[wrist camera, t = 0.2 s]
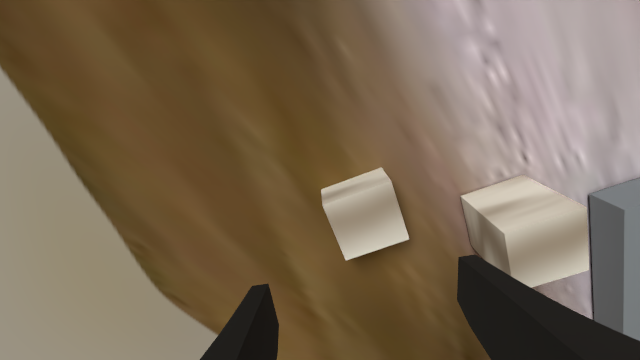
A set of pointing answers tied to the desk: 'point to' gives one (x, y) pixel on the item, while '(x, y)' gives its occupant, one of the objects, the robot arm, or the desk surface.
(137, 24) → the desk surface
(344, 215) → the short peg
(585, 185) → the desk surface
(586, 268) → the cream square block
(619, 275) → the hole board
